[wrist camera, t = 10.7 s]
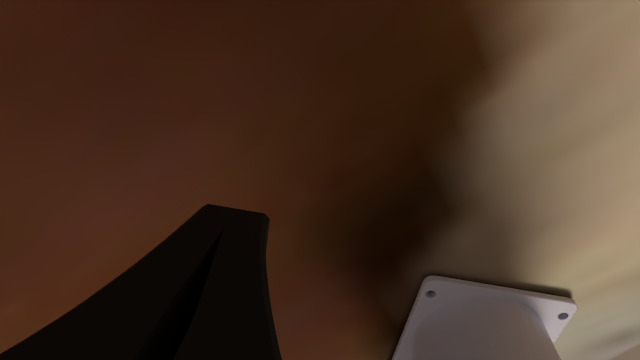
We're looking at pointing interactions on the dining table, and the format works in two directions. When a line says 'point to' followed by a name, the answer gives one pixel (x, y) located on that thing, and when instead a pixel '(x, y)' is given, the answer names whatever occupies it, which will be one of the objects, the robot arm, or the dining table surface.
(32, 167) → the dining table surface
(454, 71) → the dining table surface
